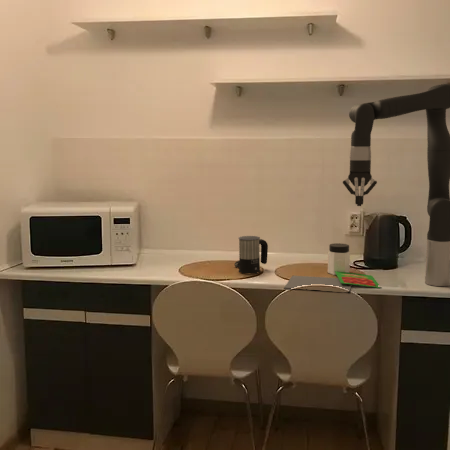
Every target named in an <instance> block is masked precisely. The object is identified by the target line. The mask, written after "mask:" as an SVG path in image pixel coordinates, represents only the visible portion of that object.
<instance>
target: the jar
mask: <svg viewBox="0 0 450 450" xmlns="http://www.w3.org/2000/svg"><path fill="white" fill-rule="evenodd" d="M328 246H329V250H328V252H327V253H328V254H327V273H328V274H330V275H331V276H332V275H333V276H337V275H336V273H335V271H338V272H347V273H351V272H350V269H351V268H350V267H351V264H350V263H351V251H350V244H347V243H342V242H341V243H330V244H328Z"/></svg>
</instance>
